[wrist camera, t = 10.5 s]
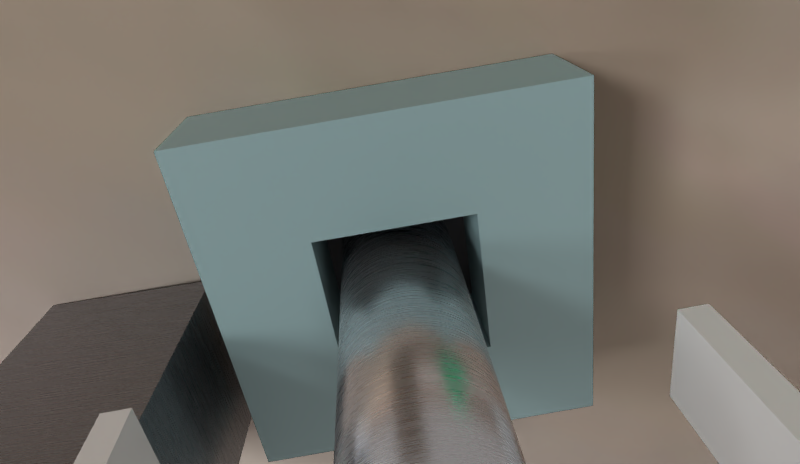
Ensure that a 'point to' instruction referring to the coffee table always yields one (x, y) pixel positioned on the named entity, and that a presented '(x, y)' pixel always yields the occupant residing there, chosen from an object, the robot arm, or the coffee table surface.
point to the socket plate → (392, 208)
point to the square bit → (124, 379)
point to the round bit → (414, 357)
